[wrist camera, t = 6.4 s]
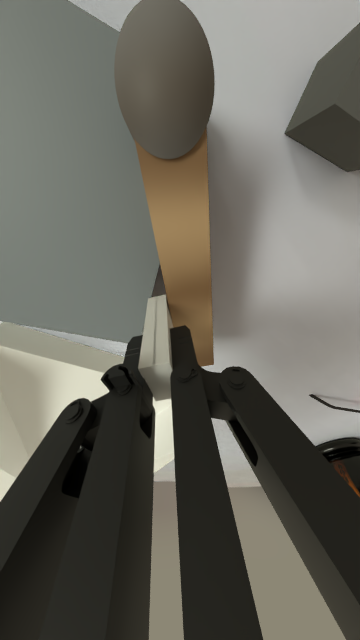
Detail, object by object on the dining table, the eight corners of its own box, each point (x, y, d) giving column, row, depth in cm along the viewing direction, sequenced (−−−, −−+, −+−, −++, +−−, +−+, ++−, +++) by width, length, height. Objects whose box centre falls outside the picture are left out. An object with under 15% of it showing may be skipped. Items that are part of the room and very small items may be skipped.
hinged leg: (119, 74, 8) (96, 5, 5) (196, 60, 8) (213, -17, 5) (176, 347, 18) (178, 371, 15) (209, 342, 18) (217, 365, 15)
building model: (100, 467, 46) (87, 520, 38) (2, 460, 38) (-38, 525, 31) (182, 372, 25) (191, 446, 18) (8, 318, 18) (-113, 405, 10)
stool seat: (-188, -108, 6) (-356, -258, 4) (197, 108, 10) (205, 84, 8) (-27, 297, 16) (-56, 311, 14) (141, 330, 20) (139, 345, 18)
